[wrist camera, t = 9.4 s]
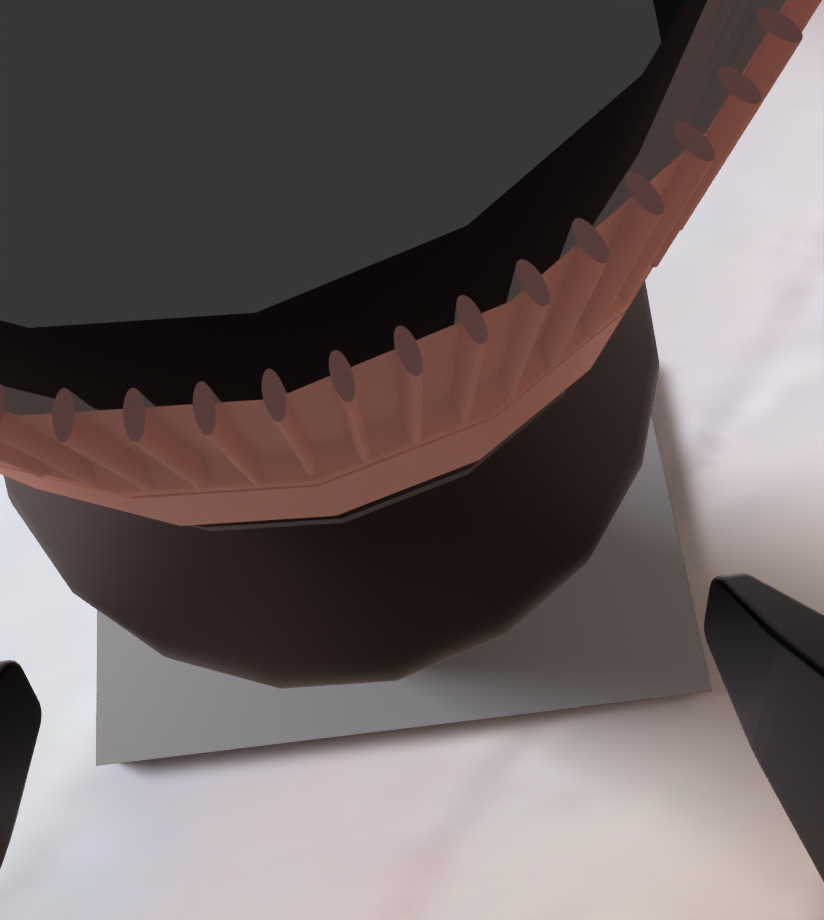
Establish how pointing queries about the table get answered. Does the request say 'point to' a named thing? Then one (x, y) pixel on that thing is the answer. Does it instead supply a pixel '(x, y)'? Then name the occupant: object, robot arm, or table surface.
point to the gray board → (452, 681)
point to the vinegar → (345, 303)
